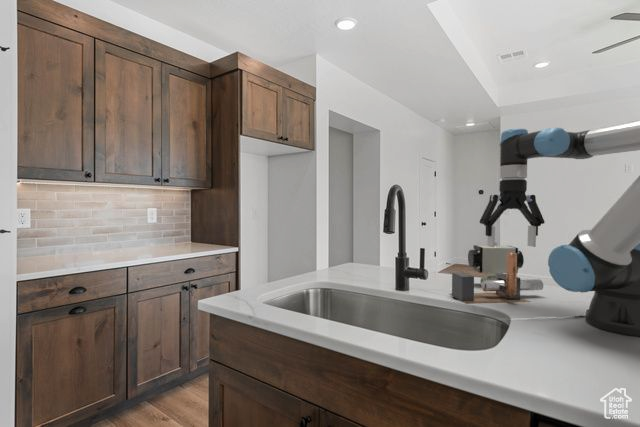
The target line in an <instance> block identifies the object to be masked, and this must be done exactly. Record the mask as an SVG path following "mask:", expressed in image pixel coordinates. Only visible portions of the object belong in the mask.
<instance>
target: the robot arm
mask: <svg viewBox="0 0 640 427" xmlns="http://www.w3.org/2000/svg"><path fill="white" fill-rule="evenodd" d="M499 148H500V151H499V152H500V154H499V156H500V157H499V163H500V164H499V179H501V180H500V181H499V190H498V191H499V195H498V194H490V195H489V200H488V201H489V202H488V203H487V205H486V207H485V210H483V213H482V216H481V218H480V220H479V224H480V225H483V226H485V236H487V246H489V247H495V242H496V241H495V240H496V226H494V224H495V223H496V222H497V221H498V220H499V218H500V217H501V216H502V214H503V213H504V212H505V211H507V210H509V209H510V210H512V209H513V210H518V211H519V212H520V213H521V214H522V216H523V217H524V218H525V219H526V221H527V222H528V223H529V224H530V225H527V246H528V247H533V248H536V247H537V244H536V243H537V242H536V241H537V237H538V236H539V227H540V226H541V225H543V224H545V223H546V222H545V218H544V217H543V215H542V212H541V210H540V207H539V206H538V203H537V199H536V195H535V194H528V195H527V194H526V192H527V186H528V181H527V180H526V178H528V159H535V158H536V159H537V158H554V159H555V158H557V159H558V158H559V159H575V160H585V159H586V160H588V159H591V158H594V157H595V156H596V157H597V156H603V155H612V154H621V153H628V152H636V151H637V152H638V151H640V119H639V120H634V121H628V122H627V121H626V122H622V123H618V124H613V125H608V126H603V127H598V128H592V129H588V130H584V131H578V132H574V131H572V132H571V131H567V130H564V128H562V127H552V128H550V127H549V128H545V129H543V130H537V131H532V132H529V130H528V129H526V128H521V127H520V128H519V127H518V128H512V129H506V130H504V131H502V132H501V134H500V143H499ZM499 201H500V203H499V204H498V202H499ZM525 202H527V204H526V203H525ZM497 204H498V206H497ZM527 205H528V206H527ZM496 206H497V208H496ZM495 208H496V209H495ZM547 258H548V259H547V265H548V268H549V269H548V270H549V273H550V276H551V277H552V279H553V281H554V282H555V283H556V284H557V285H558V287H561V288H562V289H564V290H565V291H568V292H572V293H583V294H584V293H588V292H594V293H593V296H592V298H591V301H590V304H589V307H588V309H587V310H586V312H585V321H586V323H588V325H591V326H593V327H596V328H598V329H601V330H604V331H608V332H611V333H616V334H622V335H628V336H634V337H640V175H638V176H637V178H636V179H635V180H634V181H633V182H632V183H631V184H630V186H629V187H628V188H627V189H626V190H625V191H624V193H622V195H620V197H619V198H618V199H617V201H615V203H613V205H612V206H611V207H610V208H609V209H608V210H607V212H605V214H604V215H603V216H602V217H601V218H600V219H599V220H598V222H597V223H596V224H595V225H594V226H593V227H592V228H591V229H583V230H580V232H578V233H577V234H576V236H575V237H574V238H573V239H572V240H571V241H570V243H568V244H561V245H558V246H557V247H555V248H553V249H552V250H551V251H550V253H549V256H548V257H547Z"/></svg>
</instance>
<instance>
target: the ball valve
mask: <svg viewBox="0 0 640 427" xmlns="http://www.w3.org/2000/svg"><path fill="white" fill-rule="evenodd" d="M487 245H488V244H487ZM487 245H486V244H485V245H484V244H483V245H482V244H479V245H476V244H475V245H473V248H472V249H469V251H468V253H467V262H468V265H469V267H470V268H473V270H474V271H476V272H478V273H479V274H481V273H483V274H484V273H485V274H486V273H487V274H488V275H484V276H481V277H480V280H479V281H480V283H481V282H482V281H484V280H496V274H507V253H517V274H518V273H519V272H518V270H519V269H521V268H523V266H524V262H525V261H524V254H523V252H522V251H521V250H519V248H518V247H515V246H512V245H498V242H497V241H495V247H489V246H487Z"/></svg>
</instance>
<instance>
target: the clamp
mask: <svg viewBox="0 0 640 427" xmlns="http://www.w3.org/2000/svg"><path fill="white" fill-rule="evenodd" d="M496 280H506V281H507V273H503V274H496ZM520 280H521V277H518V276H517V285H516V295H508V294H506V292H505V291H495V293H496V295H498V296H500V297H503V298H505V299H507V300H520V298H521V291H520Z"/></svg>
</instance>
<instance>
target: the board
mask: <svg viewBox="0 0 640 427" xmlns="http://www.w3.org/2000/svg"><path fill="white" fill-rule="evenodd" d="M449 295H450V296H451V297H453V298H455V297H454V296H452V293H449ZM459 301H461V300H459ZM461 302H462V303H464V304H465V305H467V304H470V305H471V304H500V303H501V304H505V303H531V301H530V300H528V299H525V298H523V297H520V300H507V299H505V298H503V297H500V296H498V295H496V292H474V301H461Z"/></svg>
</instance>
